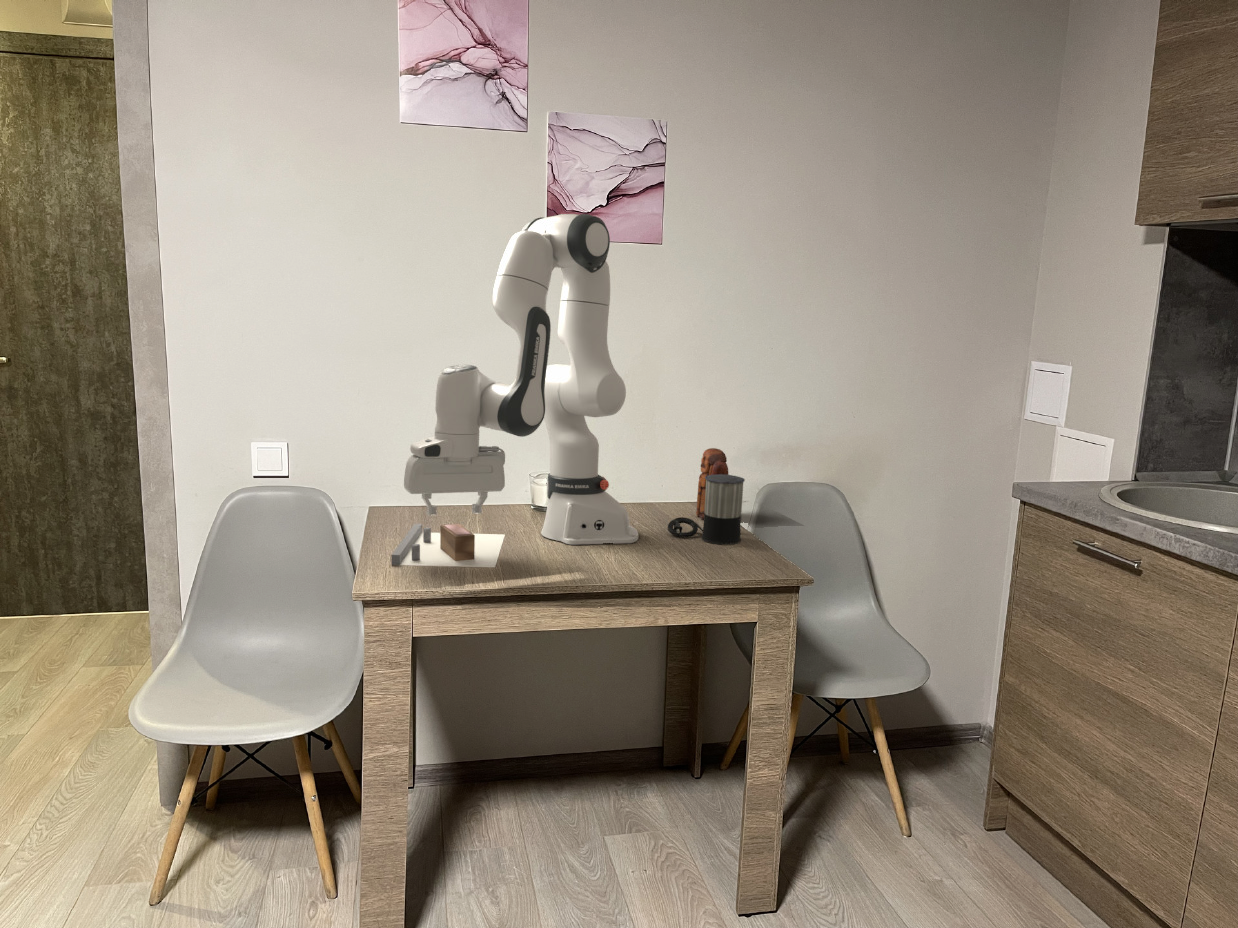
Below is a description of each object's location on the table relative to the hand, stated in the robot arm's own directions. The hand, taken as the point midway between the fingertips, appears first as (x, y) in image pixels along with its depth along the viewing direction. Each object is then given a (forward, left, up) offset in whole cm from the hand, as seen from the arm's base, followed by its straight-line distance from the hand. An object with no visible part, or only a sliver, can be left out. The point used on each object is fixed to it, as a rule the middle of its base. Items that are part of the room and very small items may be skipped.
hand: (454, 514), depth 182 cm
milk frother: (-55, -24, -10) cm, 61 cm away
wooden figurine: (-60, -45, -10) cm, 75 cm away
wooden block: (-1, -1, -9) cm, 8 cm away
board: (+1, -5, -10) cm, 11 cm away
